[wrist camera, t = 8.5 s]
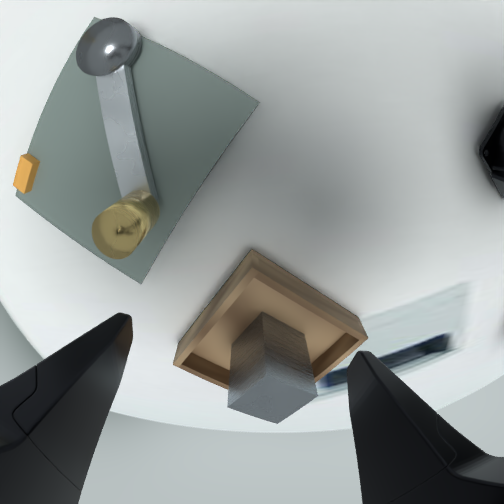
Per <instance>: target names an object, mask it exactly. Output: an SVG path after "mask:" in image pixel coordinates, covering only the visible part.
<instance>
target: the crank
mask: <svg viewBox="0 0 504 504" xmlns="http://www.w3.org/2000/svg"><path fill="white" fill-rule="evenodd" d="M141 44H142V42H141V36H140V34H139V32H138V31H137V30H136V29H135V28H134V27H133V26H131V25H130V24H128V23H127V22H125V21H124V20H122V19H120V18H106V19H103V20H100V21H98V22H96V23H95V24H93V25H92V26H91V27H90V28H89V29H88V30H87V31H86V32H85V33H84V34H83V36H82V37H81V39H80V41H79V43H78V46H77V50H76V61H77V65H78V67H79V68H80V69H81V70H82V71H83V72H84V73H86V74H88V75H93V76H96V81H97V87H98V94H99V100H100V105H101V111H102V116H103V121H104V126H105V131H106V136H107V140H108V145H109V149H110V154H111V158H112V162H113V166H114V170H115V174H116V178H117V182H118V185H119V189H120V193H121V196H122V198H121V199H120V200H118V201H117V202H115V203H114V204H113V205H111V206H110V207H108V208H107V209H106V210H104V211H103V212H102V213H100V214H99V215H98V216H97V217H96V218H95V220H94V222H93V224H92V238H93V241H94V243H95V245H96V247H97V248H98V249H99V250H100V252H102V253H103V254H104V255H106V256H107V257H109V258H112V259H124V258H126V257H128V256H129V255H131V254H132V252H133V251H134V250H135V249H136V247H137V246H138V245H139V244H140V242H141V241H142V240H143V239H144V237H145V236H146V235H147V234H148V233H149V231H150V230H151V229H152V228H153V227H154V225H155V224H156V223H157V221H158V219H159V215H160V209H159V205H158V203H159V200H158V196H157V192H156V188H155V184H154V180H153V176H152V172H151V168H150V164H149V160H148V155H147V151H146V146H145V142H144V137H143V133H142V128H141V123H140V118H139V113H138V108H137V103H136V97H135V92H134V86H133V80H132V74H131V66H132V65H133V64H134V62H135V61H136V59H137V58H138V56H139V53H140V50H141Z"/></svg>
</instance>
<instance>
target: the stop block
mask: <svg viewBox="0 0 504 504" xmlns="http://www.w3.org/2000/svg"><path fill="white" fill-rule="evenodd" d="M317 396H318V394H317V389H316V385H315V380H314V375H313V370H312V366H311V361H310V357H309V352H308V348H307V343H306V339H305V334H304V333H302V332H300V331H298V330H296V329H294V328H292V327H290V326H289V325H287V324H285V323H283V322H281V321H279V320H278V319H276V318H274V317H272V316H270V315H268V314H267V313H265V312H263V311H262V312H261V313H260V314H259V315H258V316H257V317H256V318H255V320H254V321H253V322H252V323H251V324H250V325H249V326H248V327H247V328H246V329H245V330H244V331H243V333H242V334H241V335H240V336H239V337H238V338H237V339H236V340H235V341H234V342H233V343H232V345H231V360H230V375H229V390H228V407H229V408H231V409H234V410H237V411H240V412H242V413H245V414H248V415H251V416H254V417H257V418H260V419H263V420H267V421H270V422H273V423H276V424H278V423H279V422H281V421H282V420H284V419H285V418H287V417H288V416H290V415H291V414H293V413H294V412H296V411H297V410H299V409H300V408H302V407H303V406H305V405H306V404H307V403H309V402H310V401H312V400H313V399H314V398H316V397H317Z"/></svg>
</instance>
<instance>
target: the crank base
mask: <svg viewBox="0 0 504 504" xmlns="http://www.w3.org/2000/svg"><path fill="white" fill-rule="evenodd" d="M100 20H101V19H98V18H96V17H94V18H93V20H92V21H91V23H90V24H89V26H88V27H87V29H86V30H85V32H86V31H87V30H88V29H89V28H90V27H91V26H92V25H93V24H95V23H96V22H98V21H100ZM85 32H84V33H85ZM84 33H83V34H84ZM82 36H83V35H82ZM80 39H81V38H80ZM79 41H80V40H79ZM79 41H78V43H79ZM141 42H142V44H141V50H140V53H139V56H138V58H137V59H136V61H135V62H134V64H133V65H132V66H131V74H132V80H133V86H134V92H135V97H136V103H137V108H138V113H139V118H140V123H141V128H142V133H143V137H144V142H145V146H146V151H147V155H148V160H149V164H150V168H151V172H152V176H153V180H154V184H155V188H156V192H157V196H158V200H159V203H158V205H159V209H160V215H159V219H158V221H157V223H156V224H155V225H154V227H153V228H152V229H151V230H150V231H149V233H148V234H147V235H146V236H145V237H144V239H143V240H142V241H141V242H140V244H139V245H138V246H137V247H136V249H135V250H134V251H133V252H132V254H131V255H129V256H128V257H126V258H124V259H112V258H109V257H107V256H106V255H104V254H103V253H102V252H100V250H99V249H98V248H97V247H96V245H95V243H94V241H93V238H92V224H93V222H94V220H95V218H96V217H97V216H98V215H99V214H100V213H102V212H103V211H104V210H106V209H107V208H108V207H110V206H111V205H113V204H114V203H115V202H117V201H118V200H120V199H121V198H122V196H121V193H120V189H119V185H118V182H117V178H116V174H115V170H114V166H113V162H112V158H111V154H110V149H109V145H108V140H107V136H106V131H105V126H104V121H103V116H102V111H101V105H100V100H99V94H98V87H97V81H96V76H93V75H88V74H86V73H84V72H83V71H82V70H81V69H80V68H79V67H78V65H77V61H76V50H77V46H78V43H77V45H76V46H75V48H74V50H73V51H72V53H71V55H70V57H69V58H68V60H67V62H66V64H65V66H64V67H63V69H62V71H61V73H60V75H59V77H58V79H57V81H56V83H55V85H54V87H53V89H52V91H51V93H50V96H49V98H48V100H47V102H46V105H45V107H44V109H43V112H42V114H41V117H40V119H39V122H38V124H37V127H36V129H35V132H34V135H33V138H32V140H31V143H30V146H29V149H28V152H27V154H24V155H21V157H20V160H19V164H18V167H17V171H16V175H15V179H14V183H13V186H15V187H16V188H17V192H16V196H17V197H18V198H19V199H20V200H22V201H23V202H24V203H25V204H27V205H28V206H29V207H30V208H32V209H33V210H34V211H35V212H37V213H38V214H39V215H41V216H42V217H43V218H45V219H46V220H47V221H49V222H50V223H51V224H53V225H54V226H55V227H57V228H58V229H59V230H61V231H62V232H63V233H65V234H66V235H68V236H69V237H70V238H72V239H73V240H75V241H76V242H77V243H79V244H80V245H82V246H83V247H85V248H86V249H88V250H89V251H90V252H92V253H93V254H95V255H96V256H98V257H99V258H101V259H102V260H104V261H105V262H107V263H108V264H110V265H111V266H113V267H115V268H116V269H118V270H119V271H121V272H122V273H124V274H125V275H127V276H129V277H130V278H132V279H133V280H135V281H137V282H138V283H140V284H142V282H143V280H144V278H145V277H146V275H147V273H148V271H149V270H150V268H151V266H152V264H153V262H154V261H155V259H156V257H157V256H158V254H159V252H160V250H161V249H162V247H163V245H164V244H165V242H166V240H167V239H168V237H169V235H170V234H171V232H172V230H173V229H174V227H175V225H176V224H177V222H178V220H179V219H180V217H181V216H182V214H183V212H184V211H185V209H186V208H187V206H188V205H189V203H190V201H191V200H192V198H193V197H194V195H195V194H196V192H197V191H198V189H199V187H200V186H201V184H202V183H203V181H204V180H205V178H206V177H207V175H208V174H209V172H210V171H211V170H212V168H213V167H214V165H215V164H216V162H217V161H218V159H219V158H220V156H221V155H222V154H223V152H224V151H225V149H226V148H227V146H228V145H229V144H230V142H231V141H232V139H233V138H234V137H235V135H236V134H237V132H238V131H239V130H240V128H241V127H242V126H243V124H244V123H245V122H246V120H247V119H248V118H249V116H250V115H251V114H252V112H253V111H254V110H255V108H256V107H257V106H258V104H259V103H260V102H258V101H257V100H255V99H254V98H252V97H251V96H249V95H248V94H246V93H245V92H243V91H242V90H240V89H238V88H237V87H235V86H234V85H232V84H230V83H229V82H227V81H225V80H224V79H222V78H220V77H219V76H217V75H215V74H214V73H212V72H210V71H209V70H207V69H205V68H203V67H202V66H200V65H198V64H196V63H194V62H193V61H191V60H189V59H187V58H185V57H183V56H181V55H179V54H177V53H176V52H174V51H172V50H170V49H168V48H166V47H164V46H162V45H160V44H157V43H155V42H153V41H151V40H149V39H147V38H145V37H142V36H141Z"/></svg>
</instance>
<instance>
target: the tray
mask: <svg viewBox="0 0 504 504" xmlns="http://www.w3.org/2000/svg"><path fill="white" fill-rule="evenodd" d="M262 311H263V312H265V313H267V314H268V315H270V316H272V317H274V318H276V319H278V320H279V321H281V322H283V323H285V324H287V325H289V326H290V327H292V328H294V329H296V330H298V331H300V332H302V333H304V334H305V339H306V343H307V348H308V352H309V357H310V361H311V366H312V370H313V375H314V380H315V383H316V382H317V381H318V380H320V379H321V378H322V377H323V376H325V375H326V374H327V373H328V372H330V371H331V370H332V369H333V368H334V367H336V366H337V365H338V364H339V363H340V362H342V361H343V360H344V359H345V358H346V357H347V356H349V355H350V354H351V353H352V352H353V351H354V350H356V349H357V348H358V347H359V346H360V345H361V344H362V343H363V342H364V341H366V340H367V339H368V336H367V334H366V332H365V330H364V328H363V326H362V323H361V321H360V319H359V317H357V316H355V315H354V314H352V313H351V312H349V311H348V310H346V309H345V308H343V307H341V306H340V305H338V304H337V303H335V302H334V301H332V300H331V299H329V298H328V297H326V296H324V295H323V294H321V293H320V292H318V291H317V290H315V289H314V288H312V287H310V286H309V285H307V284H306V283H304V282H303V281H301V280H300V279H298V278H296V277H295V276H293V275H292V274H290V273H289V272H287V271H286V270H284V269H282V268H281V267H279V266H278V265H276V264H275V263H273V262H272V261H270V260H268V259H267V258H265V257H264V256H262V255H261V254H259V253H257V252H256V251H254V250H253V249H251V251H250V252H249V253H248V254H247V256H246V257H245V258H244V260H243V261H242V262H241V263H240V265H239V266H238V267H237V269H236V270H235V271H234V272H233V274H232V275H231V276H230V278H229V279H228V280H227V281H226V283H225V284H224V285H223V287H222V288H221V289H220V290H219V292H218V293H217V294H216V295H215V297H214V298H213V299H212V301H211V302H210V303H209V304H208V306H207V307H206V308H205V310H204V311H203V312H202V313H201V315H200V316H199V317H198V319H197V320H196V321H195V322H194V324H193V325H192V326H191V328H190V329H189V330H188V331H187V333H186V334H185V335H184V337H183V338H182V339H181V340H180V342H179V343H178V347H177V350H176V354H175V358H174V362H173V365H175V366H177V367H179V368H181V369H183V370H185V371H187V372H189V373H191V374H194V375H196V376H198V377H200V378H202V379H204V380H207V381H209V382H211V383H214V384H216V385H218V386H221V387H223V388H225V389H228V390H229V375H230V360H231V345H232V343H233V342H234V341H235V340H236V339H237V338H238V337H239V336H240V335H241V334H242V333H243V331H244V330H245V329H246V328H247V327H248V326H249V325H250V324H251V323H252V322H253V321H254V320H255V318H256V317H257V316H258V315H259V314H260V313H261V312H262Z"/></svg>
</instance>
